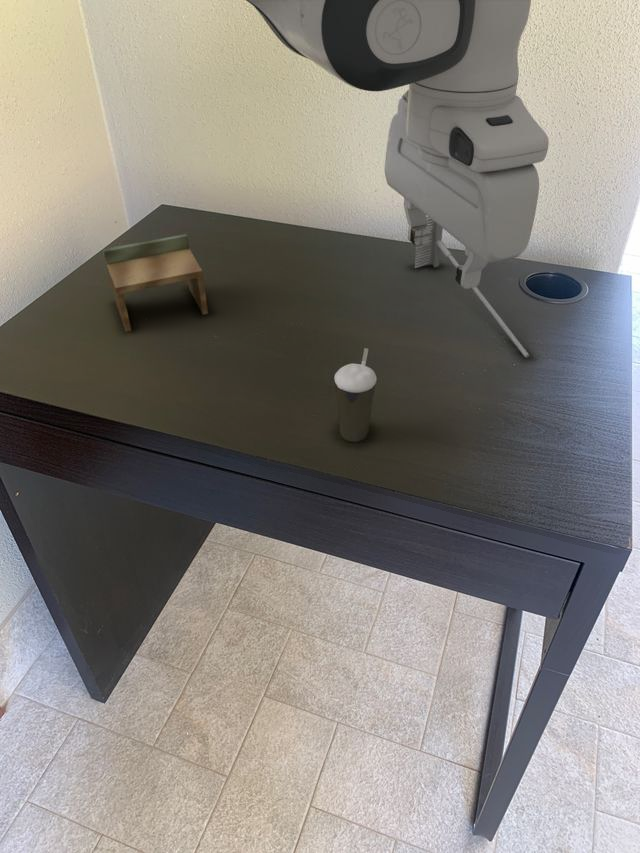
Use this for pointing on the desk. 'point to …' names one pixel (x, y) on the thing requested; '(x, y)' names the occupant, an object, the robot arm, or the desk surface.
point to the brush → (434, 259)
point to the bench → (153, 269)
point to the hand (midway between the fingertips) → (441, 262)
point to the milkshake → (355, 399)
